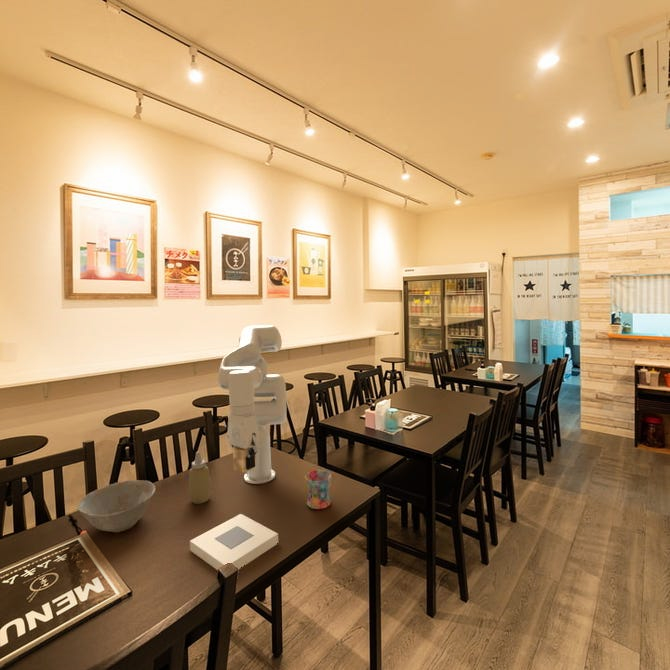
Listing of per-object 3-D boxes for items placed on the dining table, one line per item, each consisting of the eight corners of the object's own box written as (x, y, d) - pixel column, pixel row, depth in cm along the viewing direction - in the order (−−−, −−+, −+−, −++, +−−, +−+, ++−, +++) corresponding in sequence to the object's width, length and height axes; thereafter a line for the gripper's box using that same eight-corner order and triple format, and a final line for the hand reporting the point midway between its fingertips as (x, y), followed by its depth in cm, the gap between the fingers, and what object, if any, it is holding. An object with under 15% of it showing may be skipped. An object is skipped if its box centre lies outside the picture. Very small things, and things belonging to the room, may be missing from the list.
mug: (318, 514, 131) (317, 484, 130) (300, 505, 138) (299, 476, 137) (342, 501, 140) (342, 472, 139) (324, 492, 146) (323, 465, 145)
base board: (190, 550, 114) (189, 540, 114) (241, 522, 128) (240, 513, 127) (226, 577, 102) (226, 565, 102) (278, 543, 116) (278, 533, 116)
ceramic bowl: (80, 556, 113) (77, 523, 112) (80, 520, 132) (77, 491, 131) (163, 529, 125) (161, 499, 124) (151, 500, 144) (149, 474, 143)
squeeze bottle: (215, 494, 147) (213, 448, 145) (206, 506, 139) (203, 457, 137) (195, 494, 147) (192, 448, 146) (185, 505, 139) (181, 456, 138)
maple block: (233, 469, 123) (232, 447, 123) (246, 464, 127) (245, 443, 127) (243, 473, 120) (242, 450, 120) (256, 467, 124) (255, 446, 124)
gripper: (216, 408, 125) (219, 464, 126) (249, 416, 114) (252, 477, 115) (235, 403, 131) (238, 456, 132) (269, 410, 120) (272, 468, 121)
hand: (244, 465), depth 124 cm, fingers closed on maple block, 5 cm apart
